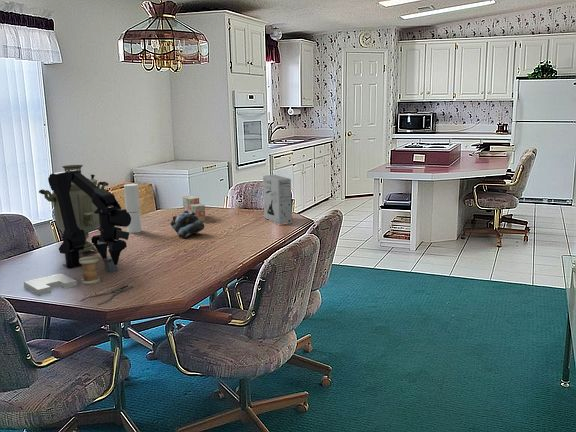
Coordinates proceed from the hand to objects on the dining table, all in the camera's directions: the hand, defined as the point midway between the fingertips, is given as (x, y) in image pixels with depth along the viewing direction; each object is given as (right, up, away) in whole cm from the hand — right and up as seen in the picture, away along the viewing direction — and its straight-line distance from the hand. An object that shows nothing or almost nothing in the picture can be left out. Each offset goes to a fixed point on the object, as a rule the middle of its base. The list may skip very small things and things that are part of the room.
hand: (110, 262), depth 229 cm
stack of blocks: (+17, +17, +104) cm, 106 cm away
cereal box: (+66, +16, +90) cm, 113 cm away
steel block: (0, -4, +1) cm, 4 cm away
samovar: (-22, +1, +29) cm, 36 cm away
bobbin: (-4, -6, -12) cm, 14 cm away
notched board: (-17, -7, -17) cm, 25 cm away
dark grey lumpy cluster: (+21, +9, +61) cm, 64 cm away
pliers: (+7, -10, -28) cm, 30 cm away
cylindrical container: (-10, +10, +73) cm, 75 cm away
